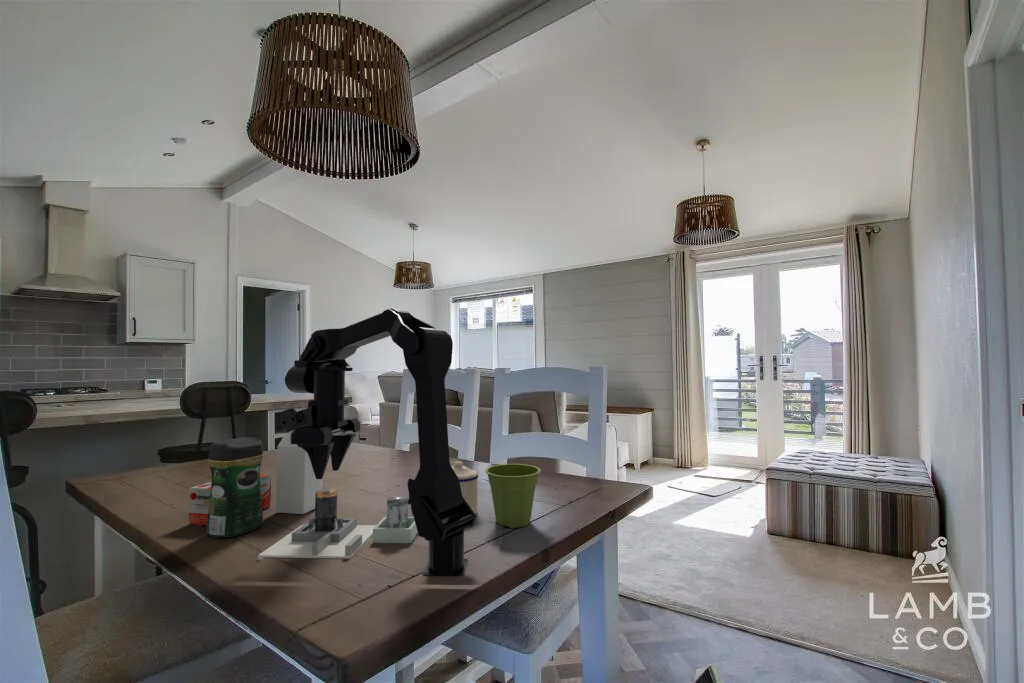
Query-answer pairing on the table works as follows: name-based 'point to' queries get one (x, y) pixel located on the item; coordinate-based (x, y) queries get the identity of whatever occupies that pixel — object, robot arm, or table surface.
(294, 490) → the milk carton
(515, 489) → the plant pot
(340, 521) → the cradle
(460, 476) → the teacup with lid
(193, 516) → the medicine box
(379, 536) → the cup
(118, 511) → the table surface
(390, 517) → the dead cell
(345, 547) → the white square base board
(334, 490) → the cell
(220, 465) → the coffee jar
